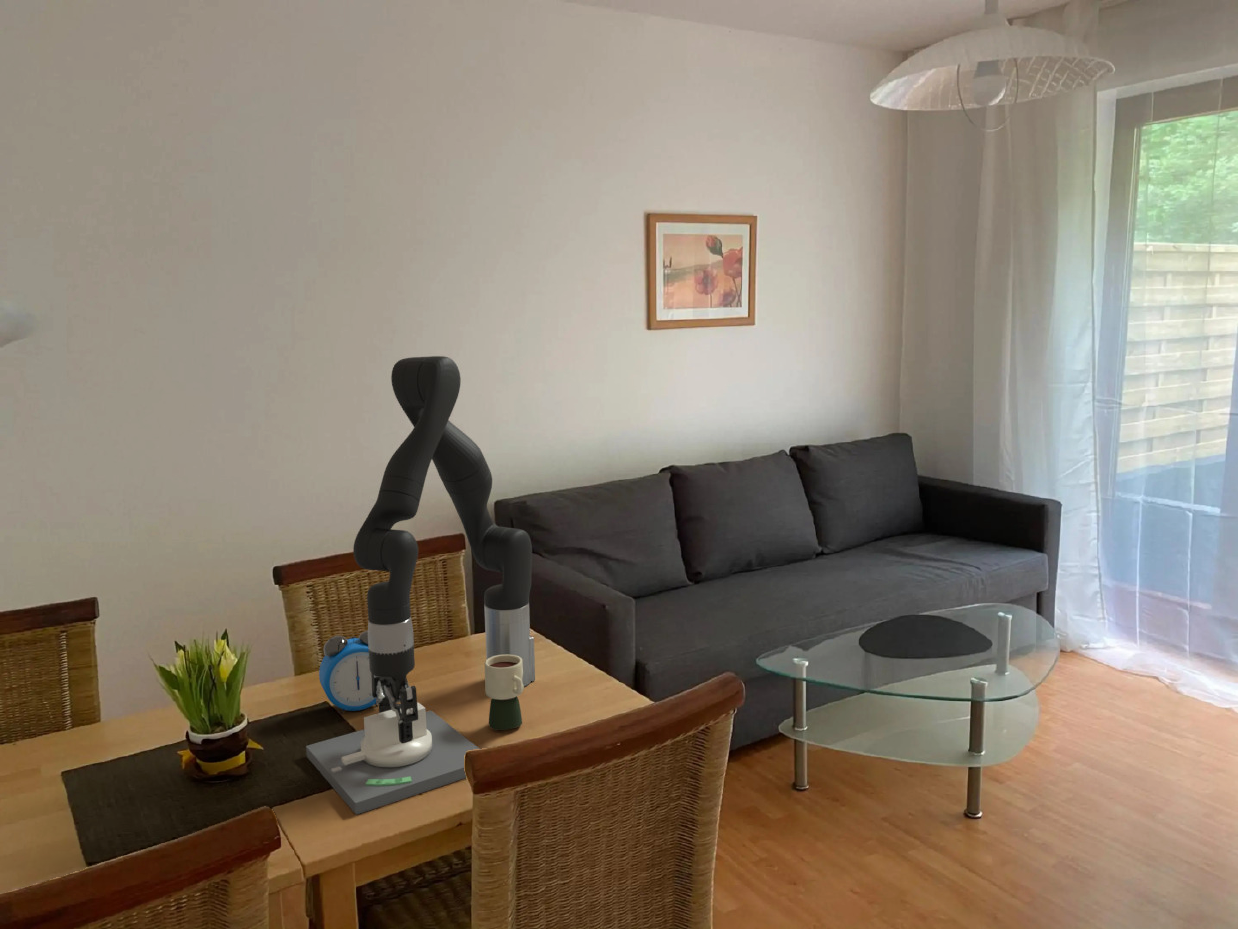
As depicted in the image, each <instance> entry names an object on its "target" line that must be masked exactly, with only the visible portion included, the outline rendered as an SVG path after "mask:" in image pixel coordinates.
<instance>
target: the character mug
mask: <svg viewBox="0 0 1238 929" xmlns="http://www.w3.org/2000/svg"><path fill="white" fill-rule="evenodd" d="M522 677H523V664H522V659H521V658H520V657H519V656H515V655H497V656H493V657H490V658H488V659H487V660H484V680H485V681H484V683H485V686H484V687H485V688H484V689H485V694H486V697H488V698H490V705H489V713H488V725H489V728H491V729H492V730H494V731H495V730H496V731H506V730H507V731H508V730H511V729H515V728H519V727H521V726H522V725H523V718H522V710H521V706H520V701H519V698H518V697H519V696H520V695H521V694H522V692H523V691H524V687H525V686H523V683H522Z"/></svg>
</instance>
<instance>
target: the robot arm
mask: <svg viewBox="0 0 1238 929" xmlns="http://www.w3.org/2000/svg"><path fill="white" fill-rule="evenodd" d="M390 378H391V386H392V390H393V392H394V396H395V398H396V401H397V402H398V404H399V406H400V408H402V410H403V412H404V414H405V415H406V417H407V419H408V420H409V421H410V423H411V425H412V426H413V429H412V430H411V432H410V433H409V434H408V435H407V437H406V438H405V439H404V440H403V442H402V443H401V444H400V445H399V447H398V448H397V449H396V450H395V452H394V453H393V454H392V455H391V457H390V459H389V461H388V462H387V464H386V467H385V469H384V473H383V476H382V480H381V483H380V486H379V487H380V488H379V491H378V496H377V499H376V501H375V503H374V505H373V506H372V508H371V509H370V511H369V513H368V515H367V517H366V519H365V520H364V522H363V523H362V525H361V527H360V529H358V530H359V531H358V532H357V534H356V536H355V539H354V542H353V547H352V548H353V557H354V560H355V562H356V564H357V565H358V566H359V567H360V568H361V569H364V570H369V571H376V572H377V571H379V572H388V573H389V579H388V580H387V581H382V582H378V583H377V582H376V583H375V584H372V585H371V586H370V587H369V588H368V590H367V593H366V594H367V596H366V603H367V614H368V615H367V617H368V618H367V620H368V621H367V622H368V624H367V625H368V626H367V631H368V648H369V665H370V671H371V676H372V696H373V698H376V702H377V705H378V713H381V712H385V711H389V710H392V711H395V712H396V716H397V719H398V730H399V741H400V742H401V743H407V742H410V741H412V739H413V731H412V721H416V720H418V707H417V703H418V697H417V695H418V694H417V687H416V686H415V685H411V686H410V684H409V682H408V679H407V675H408V674H409V673H410V672H412V671H413V670H414V668H415V666H416V663H415V661H416V660H415V644H414V643H415V642H414V628H413V627H414V626H413V622H412V617H411V615H412V614H411V596H410V595H411V590H412V585H413V584H412V583H413V579H414V573H415V569H416V566H417V561H418V557H419V545H418V542H417V539H416V538H415V536H414V535H413V534H412V533H411V532H409V531H408V530H404V529H403V530H402V529H392V528H393V526H394V525H395V524H397V523H399V522H403V521H409V520H411V519H413V518H414V517H415V516H416V515H417V513H418V511H419V508H420V503H421V498H422V493H423V490H424V486H425V482H426V478H427V474H428V471H429V469H430V466H431V462H432V463H433V464H434V467H435V469H436V471H437V473H438V476H439V478H440V480H441V481H442V484H443V486H444V488H445V490H446V492H447V494H448V495H449V497H450V499H451V501H452V504H453V506H454V508H455V510H456V513H457V515H458V518H459V519H460V521H461V523H462V527H463V529H464V532H465V535H466V538H467V541H468V544H469V547H470V550H471V552H472V555H473V558H474V560H475V561H476V563H477V565H479V566H480V567H481V568H482V569H484V570H487V571H492V572H497V573H502V583H500V584H499V583H498V584H496V585H493V586H490V587H489V588H487V589H486V590H485V591H484V596H483V602H484V603H483V604H484V628H485V630H484V631H485V653H486V654H485V655H486V660H487V659H488V658H490V657H493V656H497V655H515V656H519V657H520V658H521V659H522V664H523V677H522V683H523V686H524V687H526V686H528V685H529V684H531V681H532V682H534V681H536V665H535V663H536V662H535V660H536V659H535V639H534V638H535V637H533V636H532V635H531V629H530V627H531V626H530V624H531V622H530V594H531V593H530V592H531V588H532V575H533V574H532V572H533V571H532V570H533V567H532V565H533V545H532V541H531V536H530V535H529V533H528V532H527V531H525V530H524V529H520V528H514V527H505V526H498V525H497V524H496V523H495V522H494V521H493V518H492V516H491V515H490V512H489V509H488V502H489V499H490V496H491V492H492V488H493V476H492V472H491V470H490V467H489V465H488V463H487V460H486V458H485V456H484V454H483V452H482V450H481V448H480V447H479V446H478V444H477V443H475V441H474V440H473V439H472V438H470V437H469V436H468V435H467V434H466V433H464V432H463V431H462V430H461V429H460V428H459V427H457V426H456V425H454V423H453V422H451V421H450V417H451V415H452V413H453V410H454V408H455V405H456V403H457V400H458V398H459V394H460V389H461V382H462V381H461V373H460V369H459V367H458V365H457V363H456V362H455V361H454V360H453V359H452V358H450V357H448V356H443V355H437V356H436V355H434V356H412V357H407V358H405V357H404V358H402V359H399V360H398V361H396V363H395V364H393V367H392V371H391V377H390ZM486 660H485V661H486ZM377 686H378V688H377ZM400 709H401V711H400ZM407 713H408V714H407Z"/></svg>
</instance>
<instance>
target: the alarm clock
mask: <svg viewBox="0 0 1238 929" xmlns="http://www.w3.org/2000/svg"><path fill="white" fill-rule="evenodd" d="M323 653H324V657H323V658H322V660H321V662H320V666H319V668H318V669H319V671H318V677H319V683H320V685H321V688H322V689H323V691H324V693H325V696H326V697H327V699H328V701H329V702H331V704H332V705H334V706H335V707H337V708H339V709H341V713H340V714H344V712H345V711H349V712H357V711H362V710H366V709H369V708H370V707H372V706H375V707H379V705H378V704H377V702H376V698H373V696H372V676H371V671H370V665H369V648H368V630H364V631H363V632H361V633H360V634H359V635H358V638H357V636H356V635H355V636H350V638H348V639H347V638H346V637H345V636H342V635H335V636H332V637H330V638H329V639H328V640H327V641H326V642H325V644H324V646H323ZM377 688H378V686H377Z"/></svg>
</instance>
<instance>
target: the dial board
mask: <svg viewBox="0 0 1238 929" xmlns="http://www.w3.org/2000/svg"><path fill="white" fill-rule="evenodd" d="M426 728H427V730H429V731H430V733H431V735H432V750H431V752H430V753H429V754H428V755H427V756H426V757H425V758H423V759H422V760H420V761H417V762H415V763H412V764H409V765H405V766H399V767H378V766H373V765H370V764H368V763H366V762H365V761H364V760H361V761H357V762H354V763H351V764H347V765H345V764H344V763H343V762H342V757H343V756H347V755H350V754H354V753H357V752H360V751H361V741H362V739H363V738H364V737H365V729H361V730H360V729H359V730H358V731H354V732H349V733H346V734H343V735H340V736H336V737H332V738H328V739H326V740H325V739H324V740H322V741H318V742H315V743H312V744H309V745H305V752H306V753H305V754H306V755H305V756H306V758H307V759H308V760H309V761H310V762H311V764H312V765H313V766H314V767H315V768H316V769H317V770H318V772H319V771H320V772H319V773H320V774H321V775H322V776H323V778H324V779H325V780H326V781H327V783H329V785H330V786H331V787H332V788H333V789H334V790H335V792H336V793H337V794H338V795H339V796H340V798H342V800H343V801H344V803H345V804H346V805H348V807H349V808H350V809H351V811H352V812H353V814H355V815H360V814H362V813H367V812H369V811H371V810H375V809H378V808H381V807H384V806H387V805H389V804H392V803H395V802H398V801H402V800H404V799H408V798H411V797H414V796H416V795H420V794H422V793H426V792H429V791H432V790H434V789H437V788H440V787H442V786H446V785H449V784H453V783H455V782H459V781H461V780H464V779H467V778H466V775H465V771H464V755H465V754H466V751H468V750H473V749H480V748H479V747H478V746H477V745H476V744H475V743H473V742H471V741H470V740H469V739H468V738H467V737H465V736H464V735H463V734H462V733H460V732H459V731H458V730H456V729H455V728H454V727H453V726H451V725H450V724H449V723H448V722H446V720H444V719H443V718H442V717H440V716H439V715H438V714H436V713H435V712H434V711H432V710H427V711H426Z"/></svg>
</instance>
